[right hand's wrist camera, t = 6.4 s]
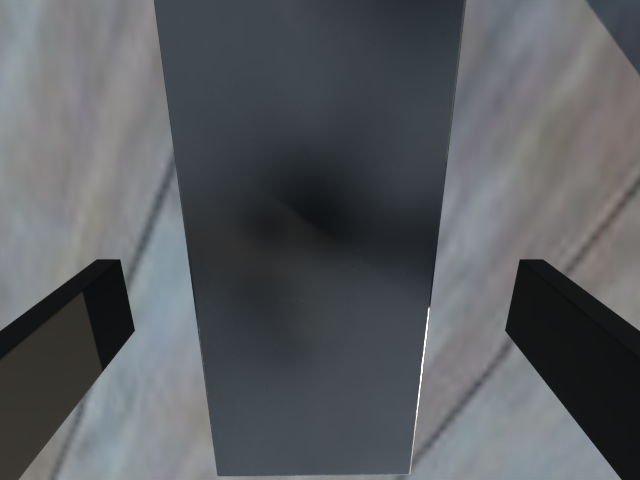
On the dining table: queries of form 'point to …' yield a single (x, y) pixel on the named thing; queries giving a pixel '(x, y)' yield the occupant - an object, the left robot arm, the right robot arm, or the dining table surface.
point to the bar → (311, 218)
